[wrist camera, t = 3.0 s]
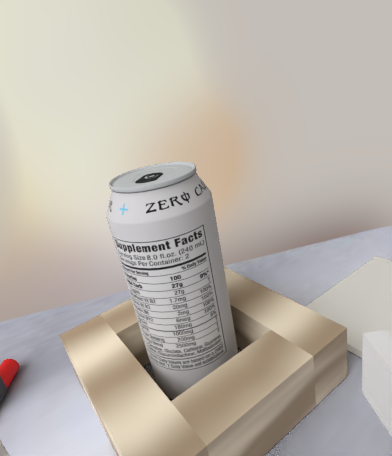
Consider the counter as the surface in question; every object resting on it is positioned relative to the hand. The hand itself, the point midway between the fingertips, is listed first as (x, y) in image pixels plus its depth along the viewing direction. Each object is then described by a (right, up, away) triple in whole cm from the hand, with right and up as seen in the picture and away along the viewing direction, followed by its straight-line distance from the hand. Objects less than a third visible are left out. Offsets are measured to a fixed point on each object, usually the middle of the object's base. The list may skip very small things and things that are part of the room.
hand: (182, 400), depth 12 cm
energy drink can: (+1, -5, +13) cm, 13 cm away
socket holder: (+1, -5, +12) cm, 13 cm away
